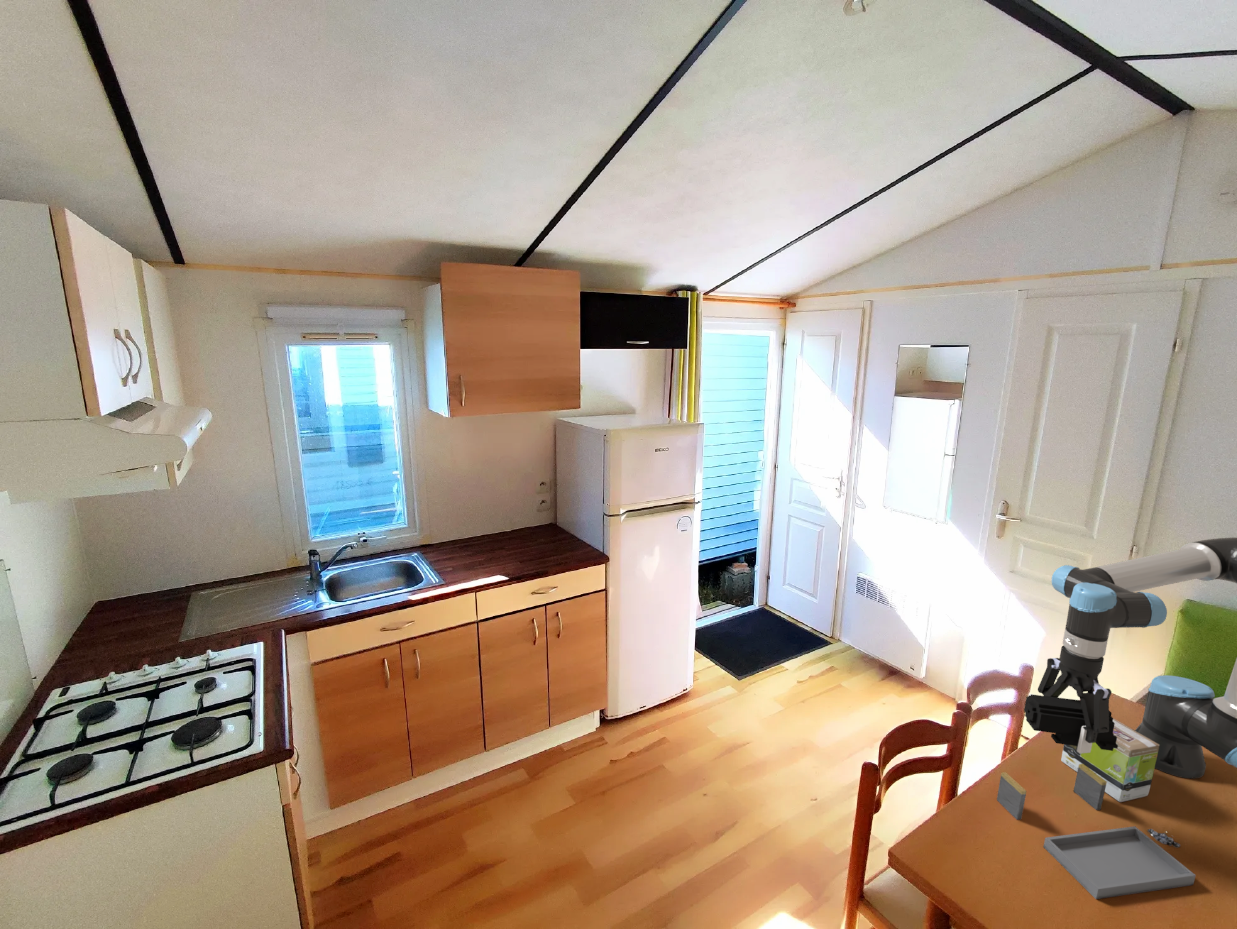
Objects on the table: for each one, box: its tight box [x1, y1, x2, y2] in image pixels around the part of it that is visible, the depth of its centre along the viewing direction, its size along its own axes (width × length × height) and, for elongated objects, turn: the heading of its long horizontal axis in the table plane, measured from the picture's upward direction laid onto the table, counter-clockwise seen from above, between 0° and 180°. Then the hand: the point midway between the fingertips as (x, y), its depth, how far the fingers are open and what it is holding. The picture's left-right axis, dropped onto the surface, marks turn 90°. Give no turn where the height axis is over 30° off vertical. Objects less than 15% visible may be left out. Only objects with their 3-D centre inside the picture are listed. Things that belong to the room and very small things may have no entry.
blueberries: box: [1147, 828, 1181, 849], centre depth 128 cm, size 7×8×2 cm
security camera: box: [1023, 694, 1118, 751], centre depth 131 cm, size 7×18×10 cm, turn 78°
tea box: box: [1060, 718, 1159, 803], centre depth 144 cm, size 15×10×15 cm, turn 14°
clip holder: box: [996, 764, 1107, 821], centre depth 136 cm, size 23×6×8 cm, turn 98°
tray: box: [1043, 826, 1196, 900], centre depth 121 cm, size 23×12×2 cm, turn 98°
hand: (1065, 738), depth 132 cm, fingers closed on security camera, 8 cm apart
